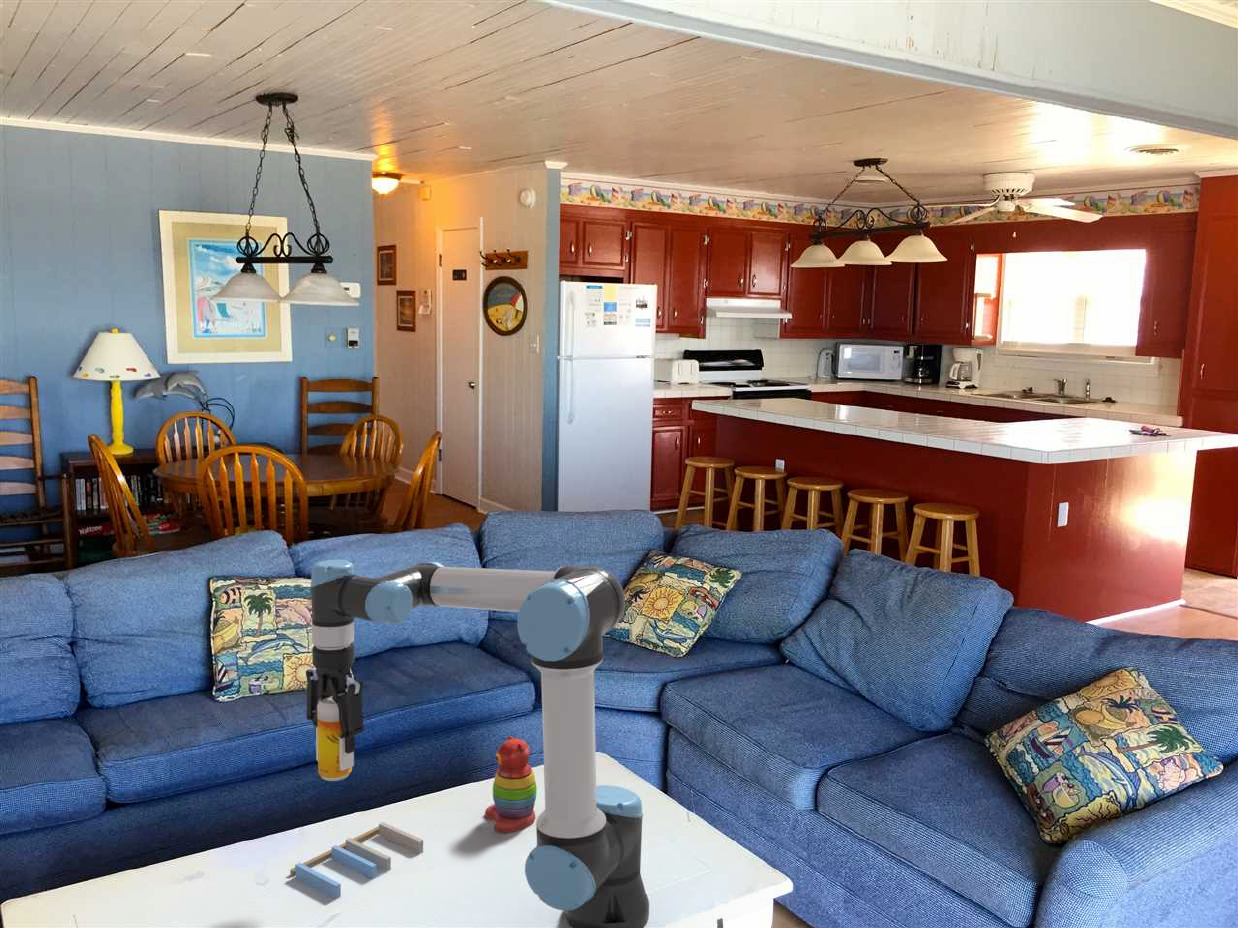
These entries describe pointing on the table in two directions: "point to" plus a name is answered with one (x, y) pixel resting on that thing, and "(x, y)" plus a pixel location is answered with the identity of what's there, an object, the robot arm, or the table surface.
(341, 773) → the beer can
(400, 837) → the rack
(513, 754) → the stacking bear
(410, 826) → the table surface
